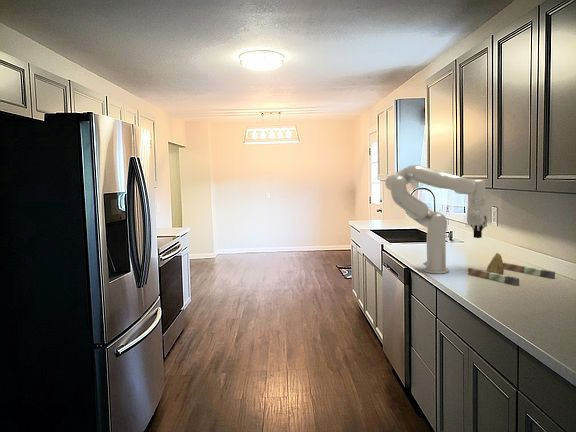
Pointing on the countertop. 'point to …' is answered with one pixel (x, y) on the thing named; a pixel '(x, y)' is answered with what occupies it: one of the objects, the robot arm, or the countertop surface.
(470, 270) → the channel
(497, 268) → the rock
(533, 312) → the countertop surface
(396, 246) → the countertop surface
